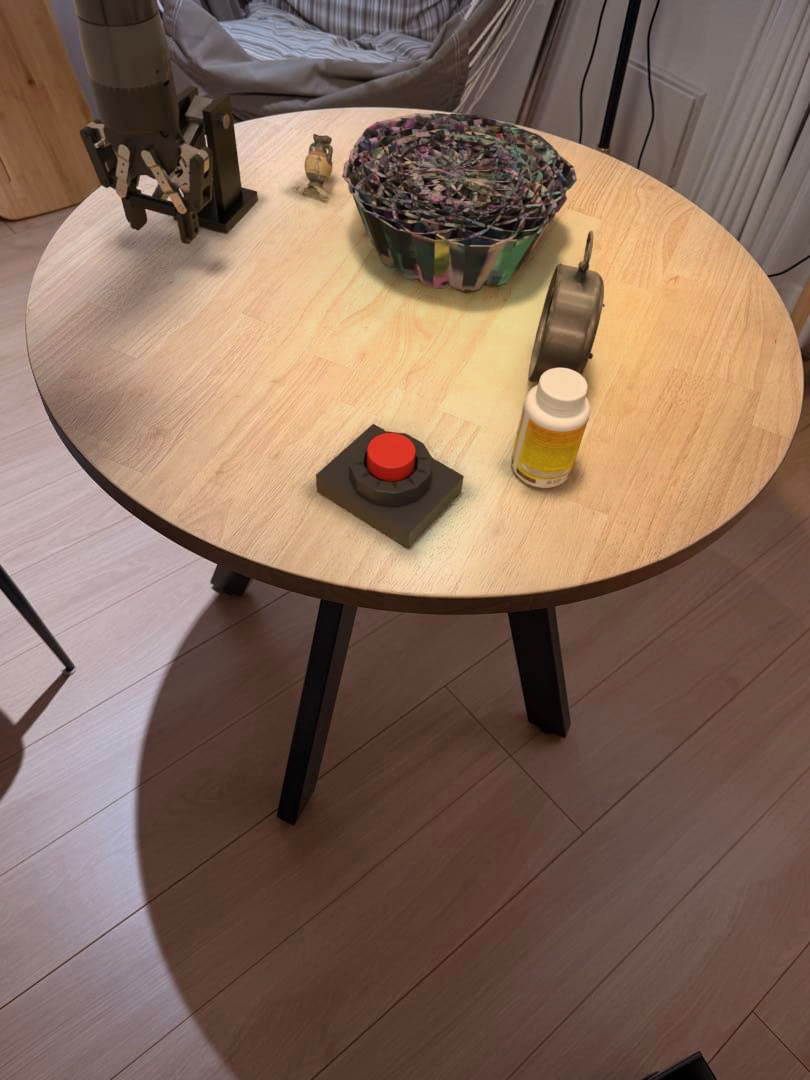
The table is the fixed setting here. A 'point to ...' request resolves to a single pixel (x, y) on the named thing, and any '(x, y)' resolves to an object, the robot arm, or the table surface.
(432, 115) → the decorative bowl
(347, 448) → the control block
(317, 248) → the table surface
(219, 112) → the bracket
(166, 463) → the table surface
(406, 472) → the button
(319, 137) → the vase
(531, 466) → the supplement bottle
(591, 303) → the alarm clock
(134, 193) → the lever
